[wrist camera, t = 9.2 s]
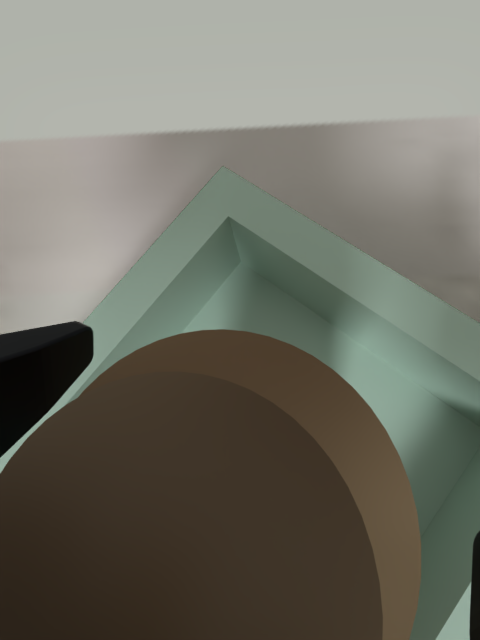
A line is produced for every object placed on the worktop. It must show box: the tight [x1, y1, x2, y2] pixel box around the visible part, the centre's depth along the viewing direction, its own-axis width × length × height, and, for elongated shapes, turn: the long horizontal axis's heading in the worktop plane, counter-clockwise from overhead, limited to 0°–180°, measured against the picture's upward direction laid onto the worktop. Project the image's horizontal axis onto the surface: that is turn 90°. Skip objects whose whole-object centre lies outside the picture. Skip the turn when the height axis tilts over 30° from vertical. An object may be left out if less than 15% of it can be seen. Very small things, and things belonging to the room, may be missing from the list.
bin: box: [0, 166, 480, 640], centre depth 14 cm, size 16×16×5 cm
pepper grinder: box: [0, 329, 421, 640], centre depth 9 cm, size 5×5×13 cm
